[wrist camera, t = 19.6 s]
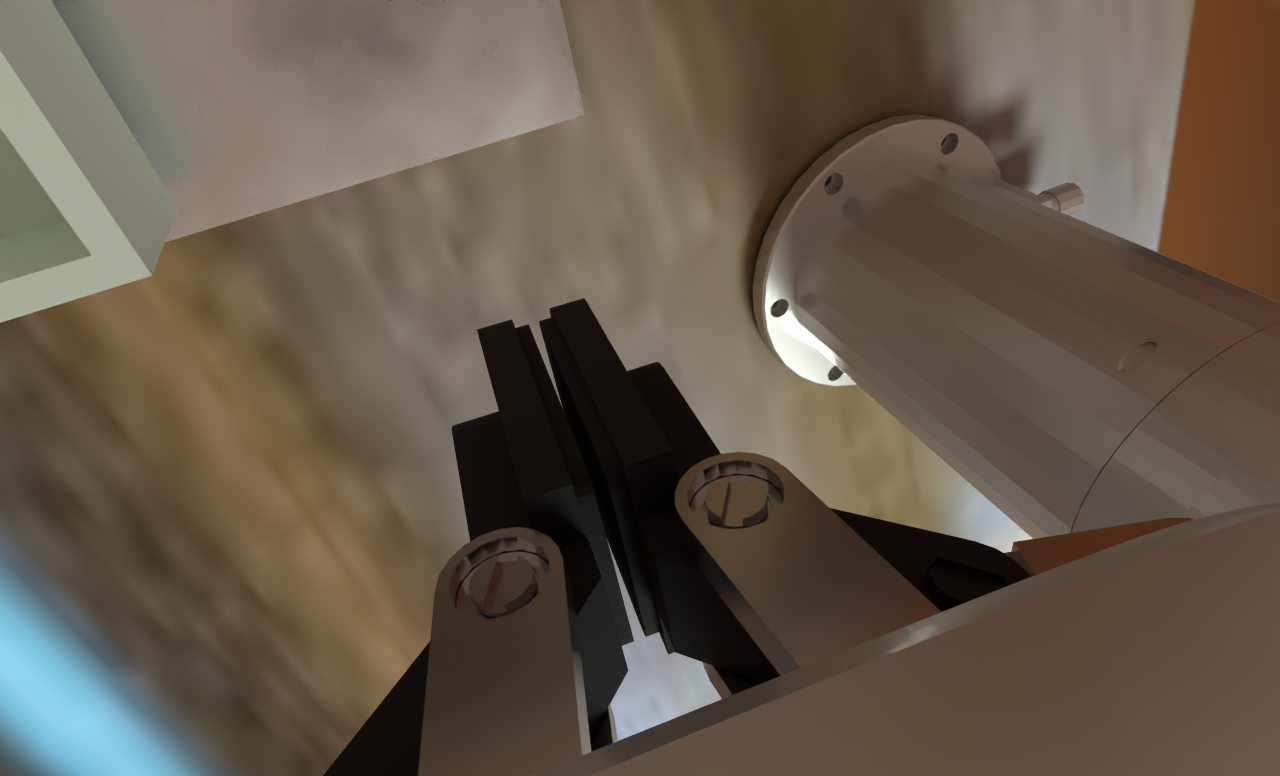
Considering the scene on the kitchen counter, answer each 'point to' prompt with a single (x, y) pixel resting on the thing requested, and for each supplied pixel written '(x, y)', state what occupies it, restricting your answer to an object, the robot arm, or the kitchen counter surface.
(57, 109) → the pale green open box
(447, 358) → the kitchen counter surface
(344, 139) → the white flat board
